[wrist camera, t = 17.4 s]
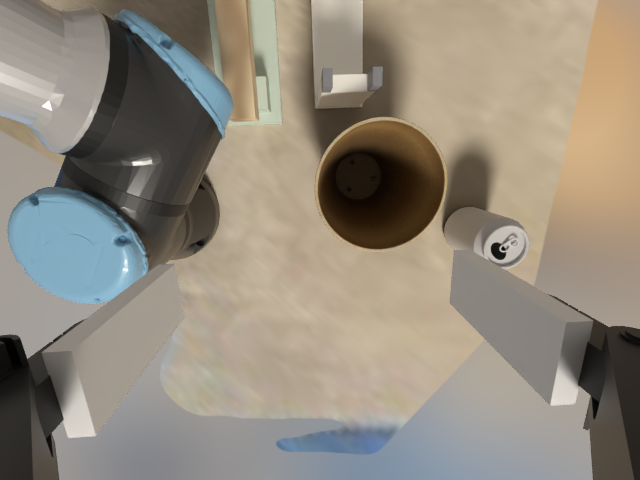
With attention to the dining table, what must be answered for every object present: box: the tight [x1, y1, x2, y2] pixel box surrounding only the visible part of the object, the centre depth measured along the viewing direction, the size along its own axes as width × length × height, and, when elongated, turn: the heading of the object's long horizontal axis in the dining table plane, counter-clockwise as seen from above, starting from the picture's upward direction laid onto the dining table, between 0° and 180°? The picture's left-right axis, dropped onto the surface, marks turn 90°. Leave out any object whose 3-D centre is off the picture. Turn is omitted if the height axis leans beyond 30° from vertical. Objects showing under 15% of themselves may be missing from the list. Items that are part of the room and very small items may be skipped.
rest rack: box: [207, 0, 283, 126], centre depth 41 cm, size 9×27×5 cm, turn 2°
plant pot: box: [315, 117, 447, 252], centre depth 42 cm, size 15×15×16 cm
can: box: [444, 207, 529, 269], centre depth 47 cm, size 8×8×12 cm
